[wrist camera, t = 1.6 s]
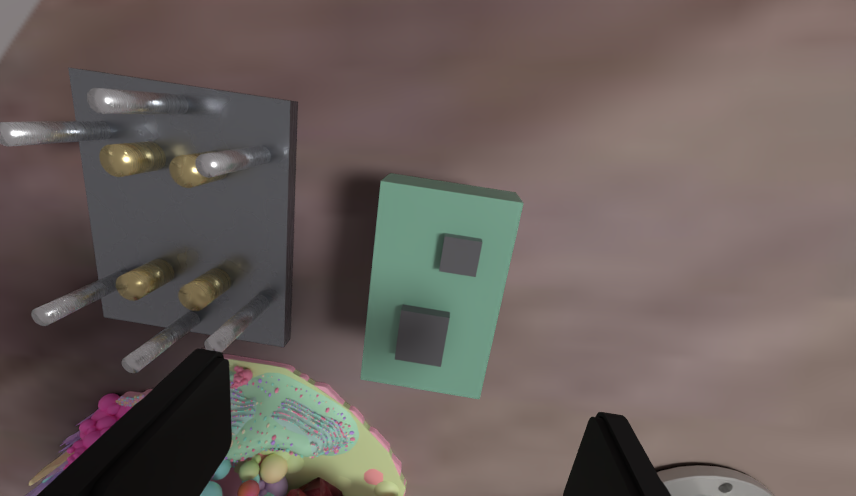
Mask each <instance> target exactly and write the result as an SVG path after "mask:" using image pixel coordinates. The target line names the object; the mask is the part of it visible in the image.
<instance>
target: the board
mask: <svg viewBox="0 0 856 496" xmlns="http://www.w3.org/2000/svg"><path fill="white" fill-rule="evenodd" d="M522 207H523V202H522V200H521V199H520V198H519V196H518V195H517V194H516V192H510V191H503V190H497V189H490V188H484V187H477V186H471V185H464V184H458V183H451V182H445V181H438V180H432V179H425V178H419V177H412V176H406V175H399V174H393V173H390V174H389V175H387V176H386V177H385V178H384V179H383V180H381V184H380V194H379V204H378V213H377V223H376V233H375V243H374V252H373V262H372V272H371V282H370V291H369V301H368V311H367V321H366V331H365V340H364V350H363V360H362V370H361V379H362V380H368V381H374V382H380V383H386V384H391V385H397V386H403V387H409V388H415V389H421V390H427V391H433V392H439V393H445V394H451V395H457V396H463V397H469V398H475V399H480V395H481V390H482V386H483V381H484V377H485V373H486V368H487V364H488V359H489V355H490V350H491V346H492V341H493V337H494V332H495V328H496V323H497V319H498V315H499V310H500V306H501V301H502V297H503V292H504V288H505V283H506V279H507V274H508V270H509V265H510V261H511V256H512V252H513V248H514V243H515V239H516V234H517V230H518V225H519V221H520V216H521V212H522Z"/></svg>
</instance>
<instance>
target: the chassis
mask: <svg viewBox="0 0 856 496" xmlns="http://www.w3.org/2000/svg"><path fill="white" fill-rule="evenodd" d="M69 75H70V82H71V89H72V96H73V103H74V110H75V118H76V121H60V122H0V143H1V144H2V145H4V146H20V145H35V144H50V143H65V142H79V146H80V153H81V160H82V167H83V174H84V181H85V188H86V195H87V202H88V209H89V216H90V223H91V230H92V237H93V244H94V251H95V258H96V266H97V273H98V280H97V281H95V282H93V283H91V284H89V285H86V286H84V287H82V288H80V289H78V290H75V291H73V292H71V293H69V294H66V295H64V296H62V297H60V298H58V299H55V300H53V301H51V302H49V303H47V304H44V305H42V306H40V307H38V308H36V309H34V310H33V311H32V313H31V316H32V318H33V320H34V321H35V322H36V323H37V324H39V325H41V326H47V325H49V324H51V323H53V322H55V321H57V320H59V319H61V318H63V317H65V316H67V315H69V314H71V313H73V312H75V311H77V310H79V309H81V308H83V307H85V306H87V305H89V304H91V303H93V302H95V301H97V300H99V299H101V301H102V308H103V315H104V317H106V318H112V319H118V320H124V321H130V322H136V323H142V324H148V325H154V326H160V327H166V328H165V329H164V330H162V331H161V332H159V333H158V334H157V335H155V336H154V337H153V338H151V339H150V340H148V341H147V342H146V343H144V344H143V345H141V346H140V347H139V348H137V349H136V350H134V351H133V352H132V353H130V354H129V355H128V356H126V357H125V358H123V360H122V366H123V368H124V369H125V370H126V371H128V372H130V373H137V372H139V371H140V370H141V369H143V368H144V367H145V366H146V365H148V364H149V363H150V362H151V361H153V360H154V359H155V358H156V357H158V356H159V355H160V354H161V353H163V352H164V351H165V350H166V349H168V348H169V347H170V346H171V345H173V344H174V343H175V342H177V341H178V340H179V339H180V338H182V337H183V336H184V335H185V334H187V333H188V332H189V331H190V332H196V333H202V334H208V335H211V336H210V337H209V338H207V339H206V340H205V343H204V346H205V349H206V350H211V351H217V352H221V353H222V352H223V351H224V350H225V349H226V348H227V347H228V346H229V345H230V344H231V343H232V342H233V341H234V340H235V339H238V340H244V341H250V342H256V343H262V344H268V345H274V346H280V347H284V346H285V345H286V344H287V343H288V341H289V340H290V331H291V299H292V268H293V236H294V205H295V174H296V142H297V111H298V102H296V101H290V100H283V99H276V98H270V97H263V96H256V95H250V94H243V93H236V92H230V91H223V90H216V89H210V88H203V87H196V86H190V85H183V84H176V83H170V82H163V81H156V80H150V79H143V78H136V77H130V76H123V75H116V74H110V73H103V72H96V71H90V70H83V69H75V68H69Z"/></svg>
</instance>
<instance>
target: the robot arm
mask: <svg viewBox="0 0 856 496" xmlns="http://www.w3.org/2000/svg"><path fill="white" fill-rule="evenodd" d="M231 442H232V427H231V398H230V370H229V361H228V359H224V356H223V354H222V353H221V352H217V351H211V350H205V349H196V350H195V351H194V352H192V353H191V354H190V355H189V356H188V357H187V358H186V359H185V360H184V361H183V362H182V363H181V364H180V365H178V366H177V367H176V368H175V369H174V370H173V371H172V372H171V373H170V374H169V375H168V376H167V377H166V378H164V379H163V380H162V381H161V382H160V383H159V384H158V385H157V386H156V387H155V388H154V389H153V390H152V391H150V392H149V393H148V394H147V395H146V396H145V397H144V398H143V399H142V400H140V401H139V402H138V403H136V404H135V405H134V406H133V407H132V408H131V409H130V410H129V411H128V412H126V413H125V414H124V415H123V416H122V417H121V418H120V419H119V420H118V421H117V422H116V423H115V424H114V425H112V426H111V427H110V428H109V429H108V430H107V431H106V432H105V433H104V434H103V435H102V436H101V437H99V438H98V439H97V440H96V441H95V442H94V443H93V444H92V445H91V446H90V447H89V448H88V449H86V450H85V451H84V452H83V453H82V454H81V455H80V456H79V457H78V458H77V459H76V460H75V461H74V462H72V463H71V464H70V465H69V466H68V467H67V468H66V469H65V470H64V471H63V472H62V473H61V474H59V475H58V476H57V477H56V478H55V479H54V480H53V481H52V482H51V483H50V484H49V485H48V486H46V487H45V488H44V489H43V490H42V491H41V492H40V493H39V494H38V495H37V496H200V495H201V493H202V492H203V490H204V489H205V487H206V486H207V484H208V483H209V481H210V480H211V478H212V476H213V475H214V473H215V472H216V470H217V469H218V467H219V466H220V464H221V463H222V461H223V460H224V458H225V457H226V455H227V453H228V451H229V449H230V446H231ZM563 496H774V494H773V493H772V492H771V491H770V490H769V489H768V488H767V487H766V486H765V485H764V484H762V483H760V482H759V481H757V480H756V479H754V478H752V477H751V476H748V475H746V474H743V473H741V472H738V471H735V470H731V469H727V468H722V467H717V466H701V465H695V466H683V467H676V468H671V469H667V470H662V471H659V472H656V471H655V469H654V467H653V465H652V463H651V462H650V460H649V458H648V456H647V454H646V453H645V451H644V449H643V447H642V445H641V444H640V442H639V440H638V438H637V437H636V435H635V433H634V431H633V429H632V428H631V426H630V424H629V422H628V420H627V419H626V418H625V417H624V416H623V415H617V414H611V413H604V412H599V413H598V414H597V415H596V417H591V418H590V419H589V421H588V424H587V427H586V430H585V433H584V436H583V438H582V441H581V444H580V447H579V450H578V453H577V456H576V458H575V461H574V464H573V467H572V470H571V473H570V475H569V478H568V481H567V484H566V487H565V490H564V493H563Z"/></svg>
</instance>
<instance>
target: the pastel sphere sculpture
mask: <svg viewBox="0 0 856 496" xmlns="http://www.w3.org/2000/svg"><path fill="white" fill-rule="evenodd" d="M223 356H224V359H228V361H229V370H230V398H231V427H232V442H231V446H230V449H229V451H228V453H227V455H226V457H225V458H224V460H223V461H222V463H221V464H220V466H219V467H218V469H217V470H216V472H215V473H214V475H213V476H212V478H211V480H210V481H209V483H208V484H207V486H206V487H205V489H204V490H203V492H202V493H201V495H200V496H405V490H406V483H407V482H406V480H405V478H404V476H403V475H402V473H401V467H402V464H401V461H400V460H398V459H397V458H396V456H395V455H394V454H393V453H392V451H391V449H390V444H389V442H387V441H386V440H385V438H384V437H383V436H382V435H381V434H380V433H379V432H378V431H377V429H376V428H374V427H370V426H369V425H368V424H367V423H366V422H365V420H364V416H363V415H362V414H361V413H360V412H359V411H358V409H357V408H356V407H354V406H350V405H349V404H348V403H346V402H345V401H344V400H343V399H342V398H341V397H340V396H339V395H338V394H337V393H336V392H335V391H334V390H333V389H332V388H331V387H330V385H328V384H326V383H322V382H316V381H314V380H312V379H311V378H309V376H308V375H306V374H304V373H301V372H299V371H297V370H296V369H295V368H294V367H293V366H291V365H288V364H283V363H278V362H273V361H267V360H260V359H254V358H248V357H242V356H236V355H230V354H223ZM152 390H153V389H147V390H146V391H145V392H141V393H140V392H133V391H128V392H126V393H125V394H124V395H122V396H118V395H117V394H114V393H111V394H107V395H105V396H103V397H102V398H101V399H100V400H99V403H98V409H97V410H96V411H95V412H94V413H93V414H91V415H90V416H88V417H87V418H85V419H84V420H83V421H81V422H80V423H78V424H77V425H79V424H80V426H79V430H80V431H78V432H76V433H75V434H73V435H71V436H69V437H67V438H66V439H65V440H64V441H63V443H62V444H61V445H60V446H62V445H63V444H65V443H66V444H65V445H67V446H66V447H64V448H63V449H62V450H61V451H59V452H62V451H64V450H65V449H67V448H68V447H69V448H68V449H67V450H66V451H65V452H63V453H62V454H61V455H60V456H59V457H58V458H57V459H56V460H54V461H53V462H51V463H50V464H48V465H47V466H46V467H44V468H43V469H42V470H41V471H40V472H39V473H38V474H37V475H36V476H35V477H33V478H32V479H31V480H30V482H29V484H28V485H29V486H31V485H32V484H34V483H36V482H37V481H39V480H40V479H42V478H43V477H45V476H46V475H47V476H46V477H45V478H44V479H43V480H42V482H41V484H39V485H38V486H37V487H36V488H34V489H33V490H32V491H30V492H29V493H28V494H26V495H25V496H37V495H38V494H39V493H40V492H41V491H42V490H43V489H44V488H45V487H46V486H48V485H49V484H50V483H51V482H52V481H53V480H54V479H55V478H56V477H57V476H58V475H59V474H61V473H62V472H63V471H64V470H65V469H66V468H67V467H68V466H69V465H70V464H71V463H72V462H74V461H75V460H76V459H77V458H78V457H79V456H80V455H81V454H82V453H83V452H84V451H85V450H86V449H88V448H89V447H90V446H91V445H92V444H93V443H94V442H95V441H96V440H97V439H98V438H99V437H101V436H102V435H103V434H104V433H105V432H106V431H107V430H108V429H109V428H110V427H111V426H112V425H114V424H115V423H116V422H117V421H118V420H119V419H120V418H121V417H122V416H123V415H124V414H125V413H126V412H128V411H129V410H130V409H131V408H132V407H133V406H134V405H135V404H136V403H138V402H139V401H140V400H142V399H143V398H144V397H145V396H146V395H147V394H148V393H149V392H150V391H152ZM89 418H91V419H89ZM77 425H76V426H77ZM80 438H81V439H82V440H79V439H80ZM69 443H70V444H69ZM68 444H69V445H68ZM72 444H73V445H72ZM71 445H72V447H70V446H71ZM59 452H58V453H59Z"/></svg>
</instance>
